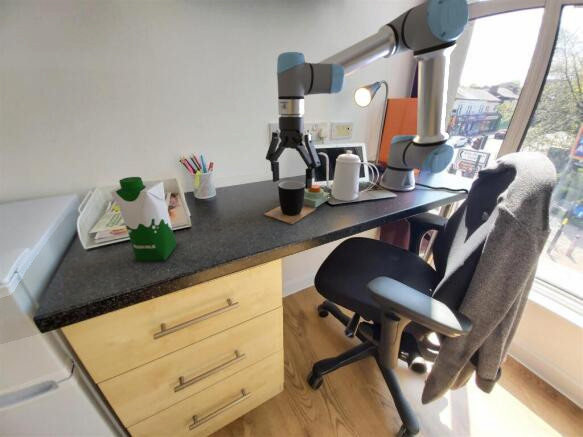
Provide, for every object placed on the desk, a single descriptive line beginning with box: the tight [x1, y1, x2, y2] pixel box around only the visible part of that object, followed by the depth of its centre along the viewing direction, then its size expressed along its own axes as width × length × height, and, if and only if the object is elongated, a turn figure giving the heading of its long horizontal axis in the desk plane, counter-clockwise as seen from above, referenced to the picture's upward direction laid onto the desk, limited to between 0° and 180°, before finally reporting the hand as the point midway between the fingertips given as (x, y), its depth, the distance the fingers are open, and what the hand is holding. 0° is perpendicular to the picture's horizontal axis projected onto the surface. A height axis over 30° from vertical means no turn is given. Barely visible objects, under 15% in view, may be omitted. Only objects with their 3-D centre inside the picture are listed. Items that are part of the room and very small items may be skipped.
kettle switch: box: [309, 184, 321, 193], centre depth 91 cm, size 4×4×2 cm
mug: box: [277, 180, 305, 216], centre depth 82 cm, size 12×9×10 cm
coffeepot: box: [317, 149, 380, 202], centre depth 94 cm, size 11×25×19 cm, turn 62°
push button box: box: [303, 188, 331, 209], centre depth 94 cm, size 14×11×4 cm
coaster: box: [263, 205, 317, 225], centre depth 84 cm, size 12×15×1 cm
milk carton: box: [110, 176, 178, 262], centre depth 56 cm, size 9×9×20 cm
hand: (291, 184), depth 79 cm, fingers open, 13 cm apart
